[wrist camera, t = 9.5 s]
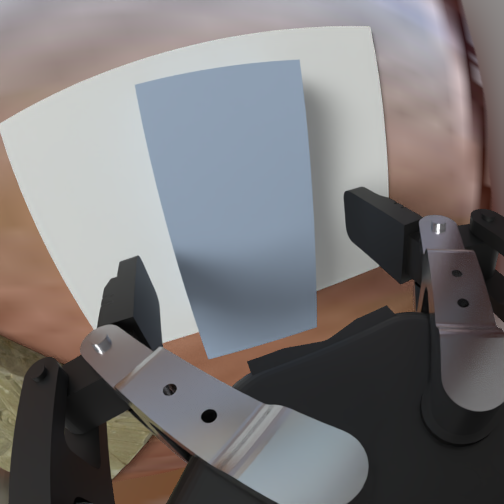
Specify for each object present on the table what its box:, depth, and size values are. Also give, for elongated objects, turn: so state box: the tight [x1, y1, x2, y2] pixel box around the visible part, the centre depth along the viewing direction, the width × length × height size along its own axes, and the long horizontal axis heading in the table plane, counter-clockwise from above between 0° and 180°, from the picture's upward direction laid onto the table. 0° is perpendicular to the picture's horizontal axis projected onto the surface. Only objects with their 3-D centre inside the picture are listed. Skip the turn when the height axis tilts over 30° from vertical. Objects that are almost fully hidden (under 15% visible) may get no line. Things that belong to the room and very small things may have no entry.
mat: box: [0, 26, 389, 343], centre depth 16 cm, size 19×15×1 cm
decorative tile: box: [0, 335, 153, 479], centre depth 19 cm, size 19×20×4 cm
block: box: [135, 60, 317, 359], centre depth 14 cm, size 12×6×4 cm, turn 7°
